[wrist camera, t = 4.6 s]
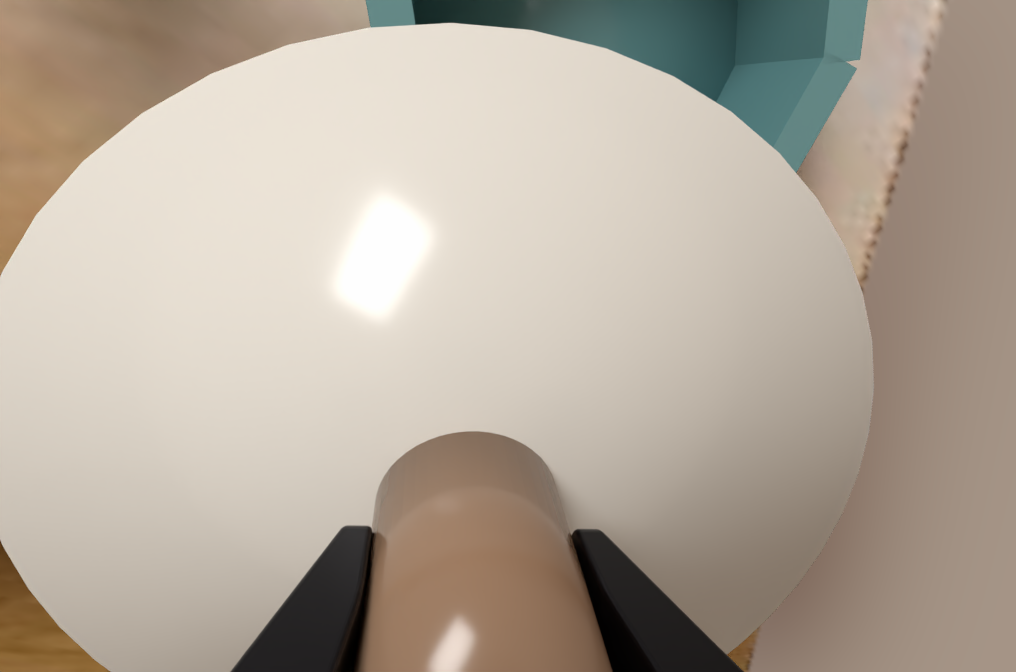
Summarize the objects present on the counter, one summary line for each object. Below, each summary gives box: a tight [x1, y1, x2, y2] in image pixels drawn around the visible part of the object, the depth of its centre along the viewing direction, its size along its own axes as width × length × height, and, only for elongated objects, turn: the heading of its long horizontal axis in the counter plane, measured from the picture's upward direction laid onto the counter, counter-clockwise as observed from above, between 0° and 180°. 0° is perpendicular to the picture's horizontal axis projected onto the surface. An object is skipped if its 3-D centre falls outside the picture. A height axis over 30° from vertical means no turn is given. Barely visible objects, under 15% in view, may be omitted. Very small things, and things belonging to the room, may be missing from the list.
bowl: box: [366, 0, 868, 172], centre depth 15 cm, size 12×12×5 cm
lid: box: [0, 23, 874, 672], centre depth 8 cm, size 14×14×5 cm
